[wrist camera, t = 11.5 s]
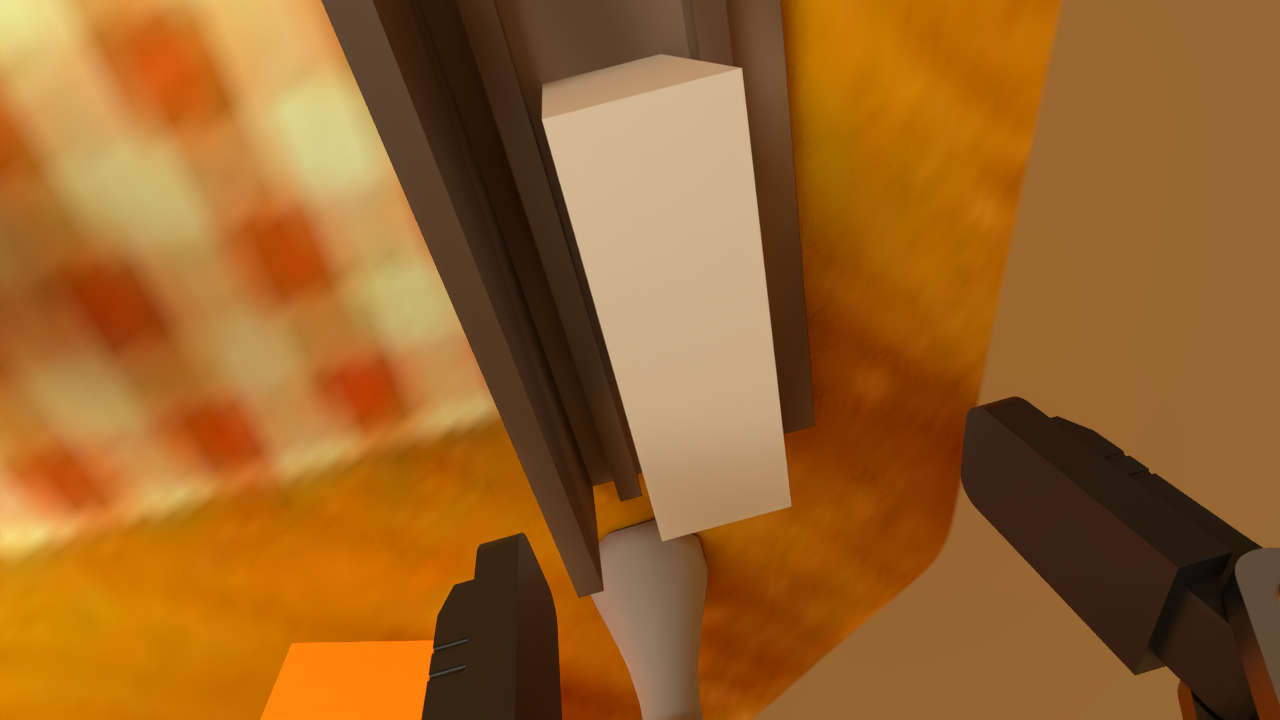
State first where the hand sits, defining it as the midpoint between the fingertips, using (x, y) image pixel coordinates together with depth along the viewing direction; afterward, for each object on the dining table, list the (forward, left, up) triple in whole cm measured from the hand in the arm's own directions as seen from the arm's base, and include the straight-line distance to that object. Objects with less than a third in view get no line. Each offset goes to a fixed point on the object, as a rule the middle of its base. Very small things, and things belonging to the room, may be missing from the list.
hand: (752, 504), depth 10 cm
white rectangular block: (0, 0, -14) cm, 14 cm away
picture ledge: (0, 0, -15) cm, 15 cm away
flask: (-4, -19, -16) cm, 25 cm away
